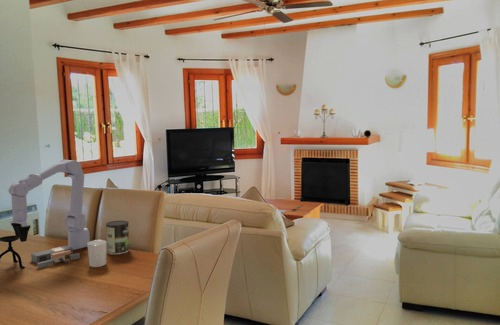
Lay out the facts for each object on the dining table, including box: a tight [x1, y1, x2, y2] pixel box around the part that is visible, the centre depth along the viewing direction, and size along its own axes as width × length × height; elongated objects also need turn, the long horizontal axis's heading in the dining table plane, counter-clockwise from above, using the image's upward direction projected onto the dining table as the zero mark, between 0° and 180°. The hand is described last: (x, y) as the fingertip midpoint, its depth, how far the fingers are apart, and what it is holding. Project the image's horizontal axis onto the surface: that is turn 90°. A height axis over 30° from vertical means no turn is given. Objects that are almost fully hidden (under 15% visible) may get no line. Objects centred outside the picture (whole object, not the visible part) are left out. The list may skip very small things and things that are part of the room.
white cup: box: [87, 239, 107, 268], centre depth 174 cm, size 8×8×10 cm
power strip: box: [30, 244, 81, 270], centre depth 181 cm, size 18×13×4 cm
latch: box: [51, 250, 71, 258], centre depth 177 cm, size 8×1×2 cm, turn 139°
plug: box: [50, 246, 69, 264], centre depth 178 cm, size 5×11×5 cm, turn 49°
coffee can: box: [105, 220, 130, 256], centre depth 193 cm, size 10×10×14 cm
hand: (21, 239), depth 179 cm, fingers open, 7 cm apart
